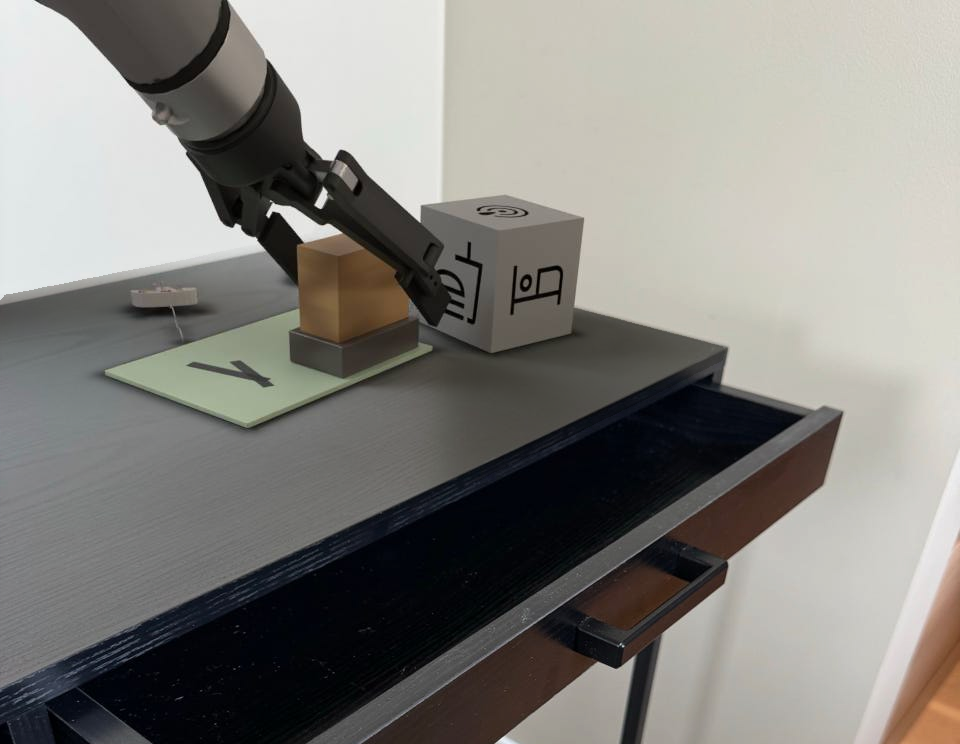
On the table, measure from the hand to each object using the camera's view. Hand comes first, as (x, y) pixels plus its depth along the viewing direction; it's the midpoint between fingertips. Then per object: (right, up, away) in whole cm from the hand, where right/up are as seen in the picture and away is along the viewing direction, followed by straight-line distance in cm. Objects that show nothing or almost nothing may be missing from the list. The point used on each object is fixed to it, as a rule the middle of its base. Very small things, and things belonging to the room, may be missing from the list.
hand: (373, 293), depth 79 cm
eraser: (-2, -5, +1) cm, 5 cm away
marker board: (-8, -6, -1) cm, 10 cm away
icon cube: (+10, 0, +10) cm, 14 cm away
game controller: (-19, 0, +6) cm, 20 cm away
